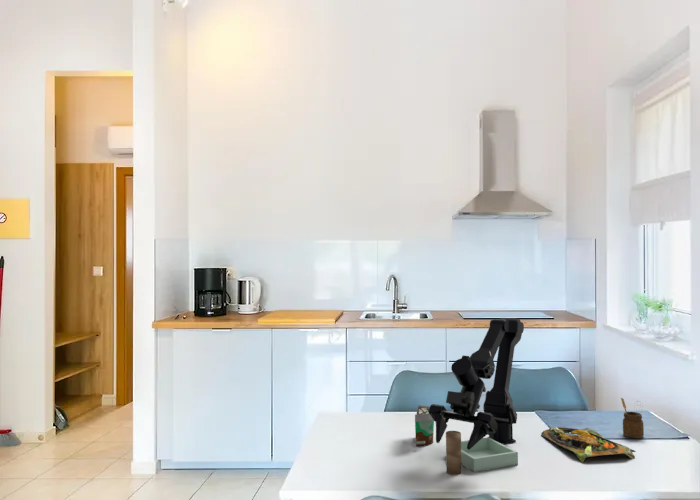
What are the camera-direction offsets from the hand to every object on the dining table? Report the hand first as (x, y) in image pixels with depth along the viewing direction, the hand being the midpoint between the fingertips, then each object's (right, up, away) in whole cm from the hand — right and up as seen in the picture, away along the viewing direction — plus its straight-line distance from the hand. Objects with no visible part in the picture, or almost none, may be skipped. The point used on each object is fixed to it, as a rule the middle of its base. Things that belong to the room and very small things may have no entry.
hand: (452, 445), depth 148 cm
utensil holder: (+63, -7, +28) cm, 69 cm away
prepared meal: (+44, -8, +20) cm, 49 cm away
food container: (-3, -8, +26) cm, 27 cm away
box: (+10, -7, +9) cm, 16 cm away
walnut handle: (+1, -7, 0) cm, 7 cm away
